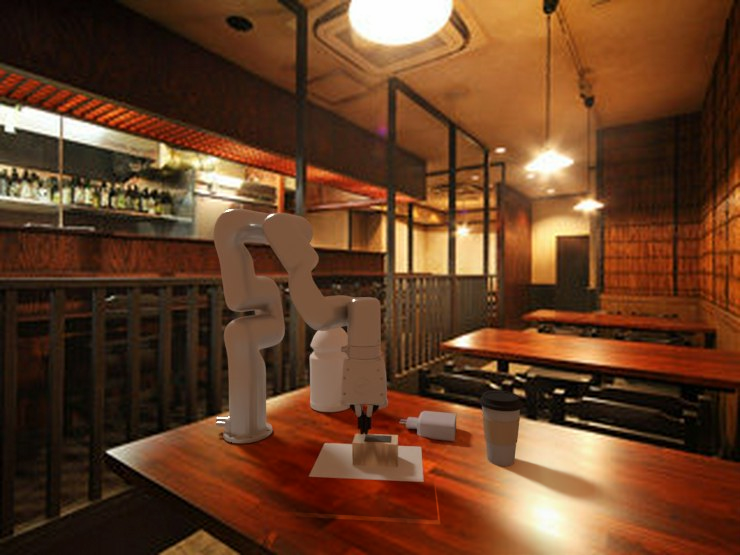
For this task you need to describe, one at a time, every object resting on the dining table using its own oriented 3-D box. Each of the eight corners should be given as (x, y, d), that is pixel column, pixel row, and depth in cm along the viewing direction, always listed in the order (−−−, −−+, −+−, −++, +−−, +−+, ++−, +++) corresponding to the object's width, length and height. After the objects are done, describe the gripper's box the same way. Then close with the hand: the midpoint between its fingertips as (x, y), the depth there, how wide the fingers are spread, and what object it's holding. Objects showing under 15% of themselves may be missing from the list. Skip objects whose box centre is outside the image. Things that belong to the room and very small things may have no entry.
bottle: (320, 396, 137) (319, 316, 136) (358, 400, 133) (357, 317, 133) (302, 411, 123) (301, 321, 123) (344, 415, 120) (344, 322, 119)
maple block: (352, 442, 88) (397, 443, 87) (355, 432, 93) (398, 434, 92) (352, 465, 88) (397, 467, 87) (355, 454, 93) (398, 456, 92)
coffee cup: (523, 455, 93) (523, 392, 93) (520, 474, 85) (520, 404, 84) (482, 447, 97) (482, 387, 97) (475, 465, 89) (475, 398, 88)
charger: (403, 423, 113) (456, 429, 109) (396, 436, 104) (454, 443, 100) (403, 407, 113) (456, 412, 109) (396, 419, 104) (454, 424, 100)
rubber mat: (308, 479, 83) (308, 476, 83) (324, 445, 99) (324, 443, 99) (423, 484, 81) (423, 481, 81) (421, 449, 97) (421, 446, 97)
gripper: (328, 355, 86) (328, 438, 87) (396, 356, 85) (397, 440, 85) (334, 348, 94) (335, 424, 94) (397, 349, 92) (397, 426, 93)
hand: (364, 431), depth 90 cm, fingers closed
